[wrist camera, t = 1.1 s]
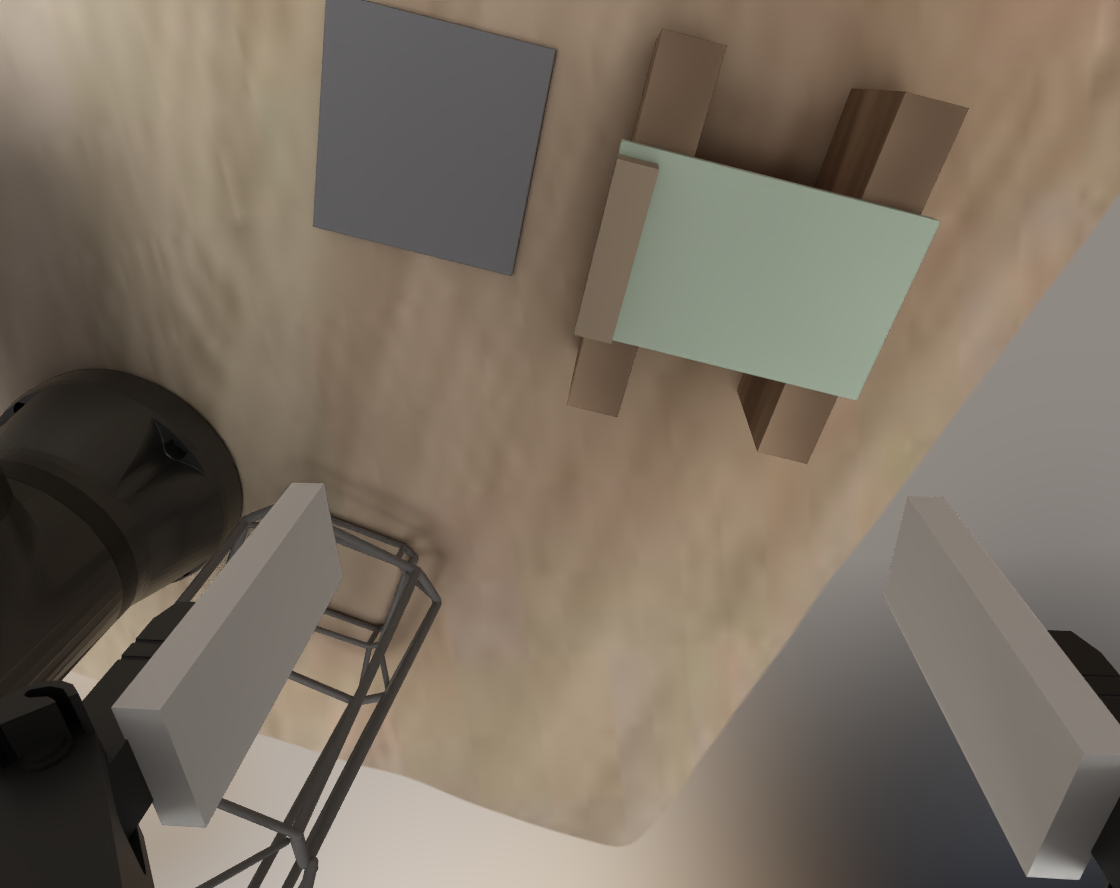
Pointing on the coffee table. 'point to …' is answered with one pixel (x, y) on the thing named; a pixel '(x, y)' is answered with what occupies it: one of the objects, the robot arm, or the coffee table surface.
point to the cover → (748, 270)
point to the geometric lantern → (331, 751)
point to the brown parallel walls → (849, 169)
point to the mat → (427, 133)
